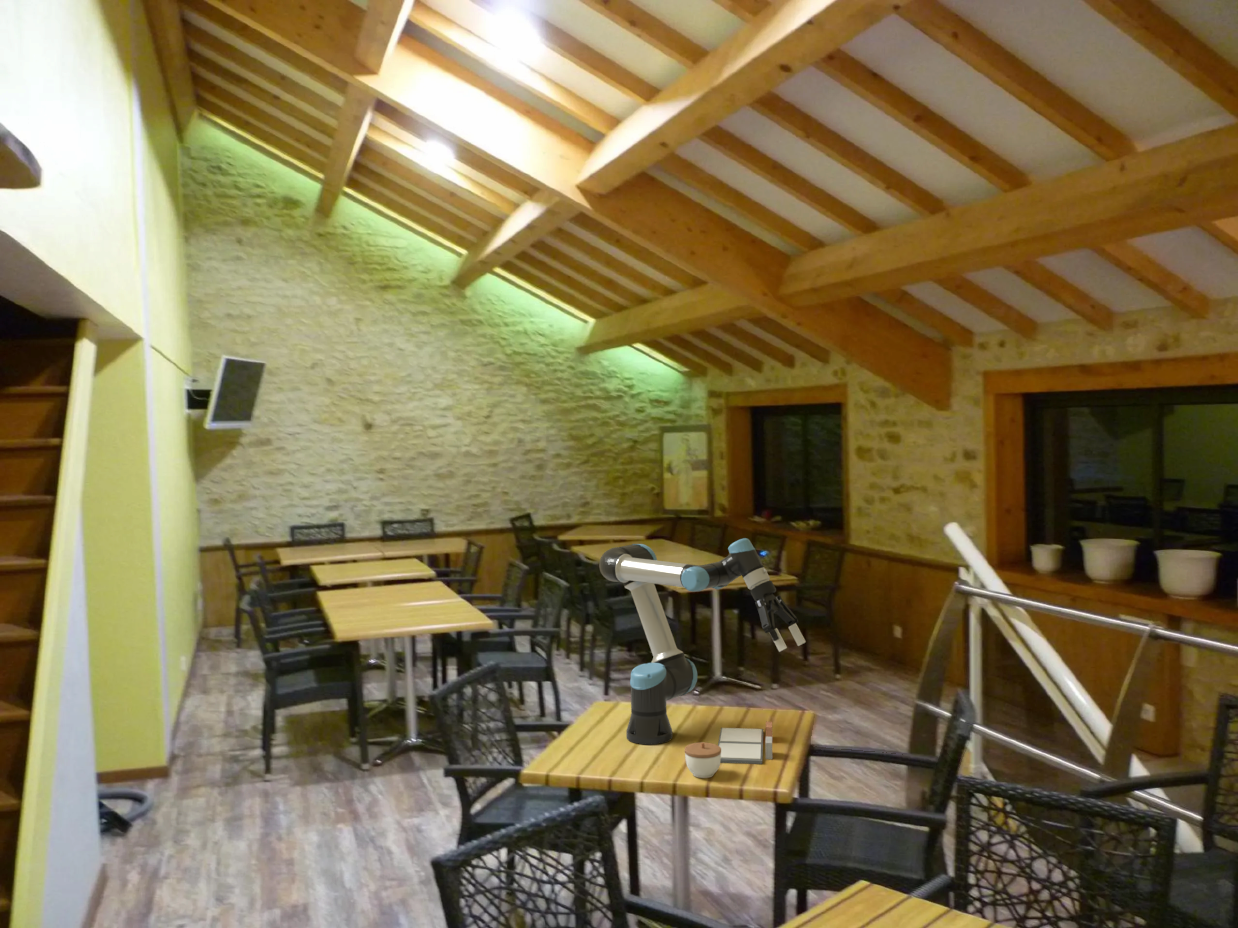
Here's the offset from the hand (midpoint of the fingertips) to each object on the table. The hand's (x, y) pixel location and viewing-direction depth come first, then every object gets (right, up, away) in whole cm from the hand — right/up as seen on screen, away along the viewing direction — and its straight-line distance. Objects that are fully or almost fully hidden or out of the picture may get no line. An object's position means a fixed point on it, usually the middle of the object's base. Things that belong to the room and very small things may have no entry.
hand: (792, 646), depth 291 cm
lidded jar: (-28, -36, -11) cm, 47 cm away
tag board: (-13, -34, +12) cm, 38 cm away
